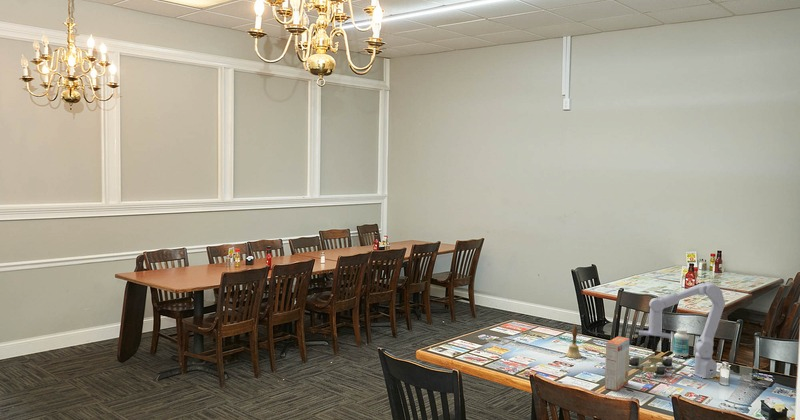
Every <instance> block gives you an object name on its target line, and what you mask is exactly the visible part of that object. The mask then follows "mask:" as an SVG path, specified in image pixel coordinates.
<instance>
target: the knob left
mask: <svg viewBox="0 0 800 420" xmlns="http://www.w3.org/2000/svg"><path fill="white" fill-rule="evenodd" d="M655 364H656V365H655V366H648V367H643V369H642V372H644V373H652V372H654V373H656V374H666V372H665V366H664V365H662V363H655Z"/></svg>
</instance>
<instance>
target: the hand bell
mask: <svg viewBox="0 0 800 420" xmlns="http://www.w3.org/2000/svg"><path fill="white" fill-rule="evenodd" d="M571 334H572V343H571V344H569V346H568V347H569V348H568V351H567V352H566V353H565V354H564V355H565V357H567V358H570V359H581V358H582V357H583V355H581V353H580V348H579V346H578V345H577V337H578V336H577V335H578V326H577V325H573V327H572V332H571Z"/></svg>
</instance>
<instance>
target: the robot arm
mask: <svg viewBox="0 0 800 420" xmlns="http://www.w3.org/2000/svg"><path fill="white" fill-rule="evenodd" d="M696 295H699V296H702V297H704V296H706V297H708V298H709V300H710V301H711V307H710V309H709V313H708V316H707V318H706V322H705V324H704V325H705V326H704V328H703V330H702V333H701V335H700V336H699V338H698V340H697V341H695V343H694V349H695V351H696V352H695V354H694V369H693V371H689V373H690V374H692V373H693V375H694V374H695V376H697V377H699V376H700V377H699V378H701V377H702V378H701V379H703V378H707V379H711V378H710V377H716V376H717V361H715V360H714V359H713V354H714V340H715V339H714V338H715V335H716V332H717V329H718V327H719V324H720V322H721V321H720V320H721V318H722V316H723V311H724V308H725V306H726V301H725V298H724V294H723V290H721V288H720V287H719V286H718V285H716V284H715V283H714V282H713V281H705V282H702V283H701V282H700V283H697V284H696V285H693V286H692V287H689V288H686V289H684V290H682V291H679V292H677V293H676V292H673V291H672V292H671V291H668V292H667V293H666V294H663V295H659V296H657V297H654V298H651V299H650V301H649V302H648V306H649V307H650V308H649V317H648V319H649V320H648V330H638V336H647V337H648V340H649V342H650V346H651V349H652V352H653V353H656V352H657V348H658V345H659V343H660V342H661V340H662V339H664V338H665V339H670V340H671V339H672V333H668V332H662V331H663V329H662V327H663V311H664V309H666V308H669V307H672V306H674V305H678V304H679V303H680V301H682V300H683V299H687V298H690V297H694V296H696Z"/></svg>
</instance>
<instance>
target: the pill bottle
mask: <svg viewBox="0 0 800 420" xmlns="http://www.w3.org/2000/svg"><path fill="white" fill-rule="evenodd" d="M687 333H688V330H687V329H684V328H677V329H676V333H674V334H673V343H672V344H673V346H672V354H673V355H674V354H675V355H674V356H676V355H677V356H676V357H681V356H683V358H684V357H689V350H690V349H689V348H690V336H689V334H687ZM678 355H680V356H678Z"/></svg>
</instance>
